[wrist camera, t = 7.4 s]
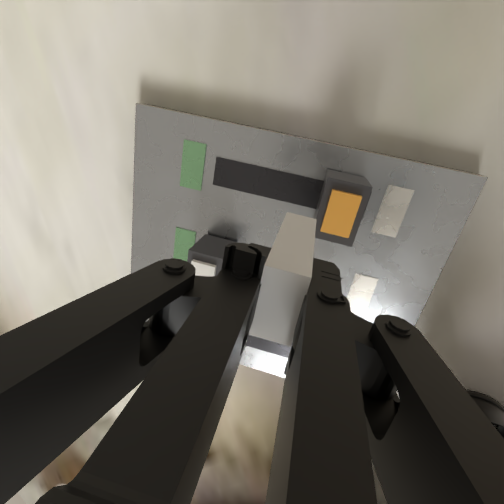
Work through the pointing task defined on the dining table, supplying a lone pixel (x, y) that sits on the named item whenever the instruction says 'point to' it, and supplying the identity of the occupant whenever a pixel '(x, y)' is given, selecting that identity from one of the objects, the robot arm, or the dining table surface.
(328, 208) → the orange and grey switch
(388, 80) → the dining table surface
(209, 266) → the breaker middle
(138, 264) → the panel
